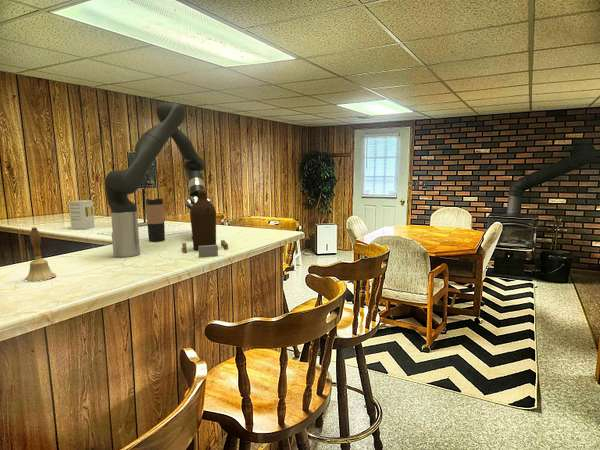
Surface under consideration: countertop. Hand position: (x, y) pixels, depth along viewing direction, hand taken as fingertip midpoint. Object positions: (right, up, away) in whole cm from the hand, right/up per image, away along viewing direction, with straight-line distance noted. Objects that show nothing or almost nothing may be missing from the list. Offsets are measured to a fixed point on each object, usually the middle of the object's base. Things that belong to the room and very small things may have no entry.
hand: (200, 216), depth 173 cm
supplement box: (-85, -6, +54) cm, 101 cm away
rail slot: (+6, -14, -14) cm, 20 cm away
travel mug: (-23, -12, +7) cm, 26 cm away
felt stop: (+11, -16, -29) cm, 34 cm away
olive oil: (+6, -14, -14) cm, 20 cm away
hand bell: (-35, -21, -56) cm, 69 cm away
